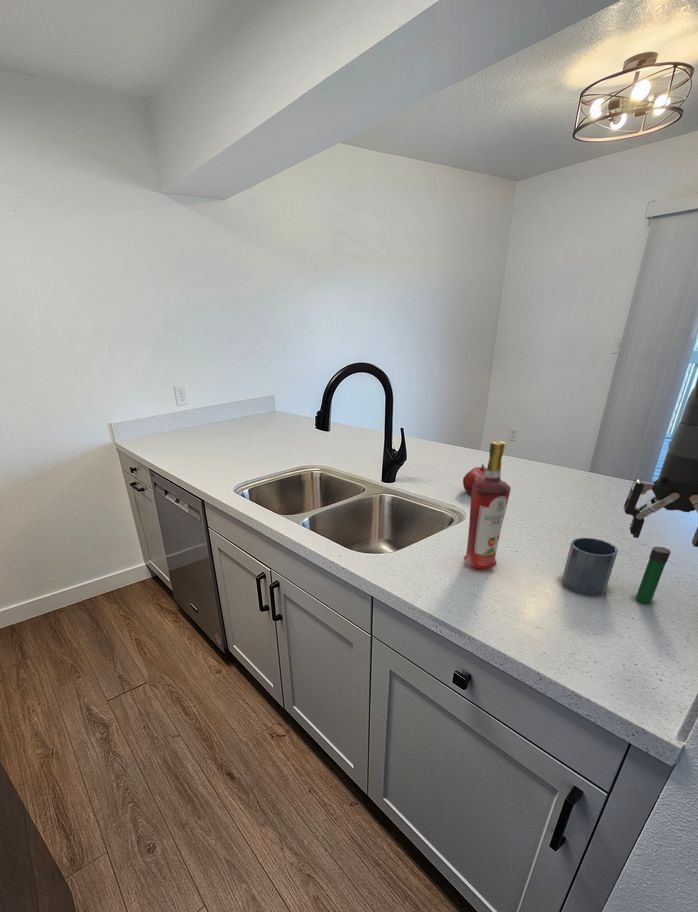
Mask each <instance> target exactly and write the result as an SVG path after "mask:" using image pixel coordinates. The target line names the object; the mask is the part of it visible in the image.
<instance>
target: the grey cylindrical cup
mask: <svg viewBox="0 0 698 912" xmlns="http://www.w3.org/2000/svg"><path fill="white" fill-rule="evenodd" d="M618 551H619V549H618V548H617V546H616V545H614V544H612V543H610V542H608V541H605V540H603V539H599V538H592V537H579V538H578V537H577V538H575V539H573V540H571V543H570V547H569V551H568V554H567V558H566V562H565V566H564V569H563V573H562V577H561V583H562V585H563V586H564V587H565V588H566V589H567V590H570V591H572V592H574V593H575V594H576V593H577V594H580V595H583V596H600V595H603V594H604V593H605V592H606V590H607V587H608V584H609V582H610V581H609V580H610V578H611V574H612V571H613V567H614V565H615V561H616V558H617V555H618Z"/></svg>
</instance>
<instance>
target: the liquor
mask: <svg viewBox="0 0 698 912" xmlns="http://www.w3.org/2000/svg"><path fill="white" fill-rule="evenodd" d="M489 446H490V447H489V458H488V462H487V466H486V469H487V471H486V475H485V479H481V480H479V481H477V482H475V483H474V484H473V485H472V493H471V498H470V506H469V522H468V523H469V524H468V534H467V545H466V553H465V555H464V557H463V561H464V563H465V564H467V566H468V567H469V568H471V569H473V570H476V571H487V570H489V569H492V568H493V567H495V566H496V565H497V564H498V563H497V558H496V557H497V550H498V545H499V541H500V536H501V532H502V528H503V523H504V520H505V516H506V511H507V507H508V504H509V503H508V502H509V497H510V493H511V489H512V487H511V486H510V485H509V484H508V483H507V482H506V481H505V480H502V479H501V477H502V460H503V459H502V458H503V456H504V454H505V448H506V442H505V441H500V440H493V441H491V442H490V445H489Z"/></svg>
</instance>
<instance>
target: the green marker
mask: <svg viewBox="0 0 698 912" xmlns="http://www.w3.org/2000/svg"><path fill="white" fill-rule="evenodd" d="M670 556H671V550H670V549H669V548H666V547H663V546H653V547H652V548H651V551H650V554H649V557H648V558H649V559H648V562H647V565H646V568H645V570H644V573H643V575H642V579H641V581H640V583H639V584H640V585H639V587H638V590H637V593H636V596H635V600H636V601H637V602H639V603H642V604H647V605H649V604H651V603H652V601H653V598H654V596H655V593H656V590H657V588H658V585H659V582H660V579H661V577H662V575H663V571H664V570H665V566H666V564H667V562H668V560H669V558H670Z"/></svg>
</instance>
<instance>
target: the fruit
mask: <svg viewBox="0 0 698 912" xmlns="http://www.w3.org/2000/svg"><path fill="white" fill-rule="evenodd" d="M486 471H487V467H485V466H484V463H483V464H482V465H481V466H479V467H477V466H476V467H473V468H472V469H471V470H469V471H468V472H467V473H466V474H465V475H464V477H463V478H462V485H463V489H464V490H465V491H466V492H467V493H470V494H472V485H473V484H474V483H475V482H477V481H479V480H481V479H485V475H486Z"/></svg>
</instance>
